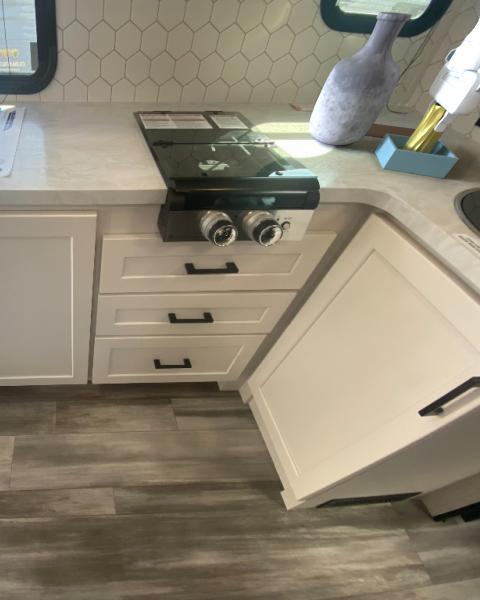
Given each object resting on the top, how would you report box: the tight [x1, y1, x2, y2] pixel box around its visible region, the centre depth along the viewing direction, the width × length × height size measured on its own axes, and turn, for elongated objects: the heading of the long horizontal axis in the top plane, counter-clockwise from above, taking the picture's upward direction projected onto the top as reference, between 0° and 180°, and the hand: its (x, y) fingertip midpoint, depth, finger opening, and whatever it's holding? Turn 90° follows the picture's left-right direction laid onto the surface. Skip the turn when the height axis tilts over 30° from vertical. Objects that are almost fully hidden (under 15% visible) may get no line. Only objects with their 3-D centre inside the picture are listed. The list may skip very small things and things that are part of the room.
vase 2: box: [402, 103, 448, 154], centre depth 88 cm, size 6×6×14 cm
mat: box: [364, 123, 416, 139], centre depth 111 cm, size 18×14×1 cm
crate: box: [374, 133, 459, 179], centre depth 91 cm, size 13×13×5 cm
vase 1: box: [308, 11, 413, 146], centre depth 93 cm, size 16×16×30 cm
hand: (431, 125), depth 86 cm, fingers open, 8 cm apart
